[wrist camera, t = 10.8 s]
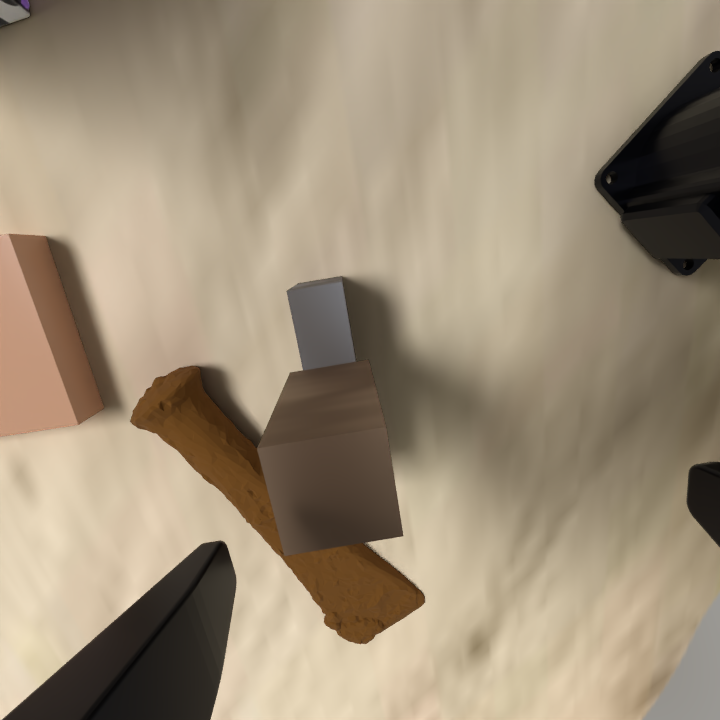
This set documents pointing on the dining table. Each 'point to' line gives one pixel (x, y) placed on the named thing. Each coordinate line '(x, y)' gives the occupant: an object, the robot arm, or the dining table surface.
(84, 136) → the dining table surface
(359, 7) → the dining table surface
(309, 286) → the two-tone stacked blocks
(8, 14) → the candy box
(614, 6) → the dining table surface
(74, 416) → the tan block
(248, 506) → the primitive tool
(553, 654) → the dining table surface
